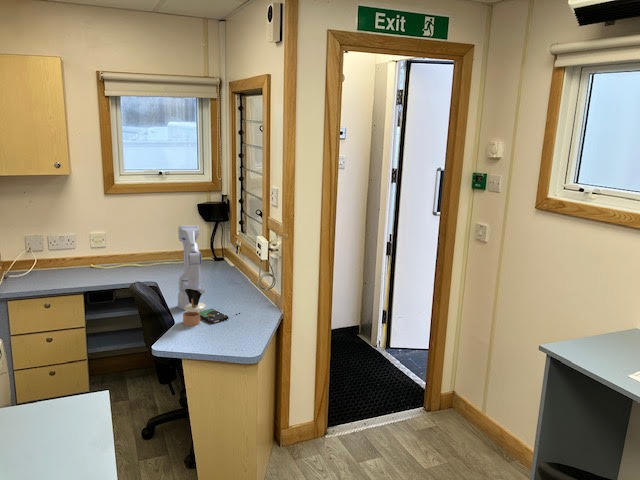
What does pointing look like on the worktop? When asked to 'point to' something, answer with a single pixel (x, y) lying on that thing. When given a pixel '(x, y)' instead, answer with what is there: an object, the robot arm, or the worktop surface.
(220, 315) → the disk drive
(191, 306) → the lid
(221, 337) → the worktop surface
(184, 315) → the bowl
